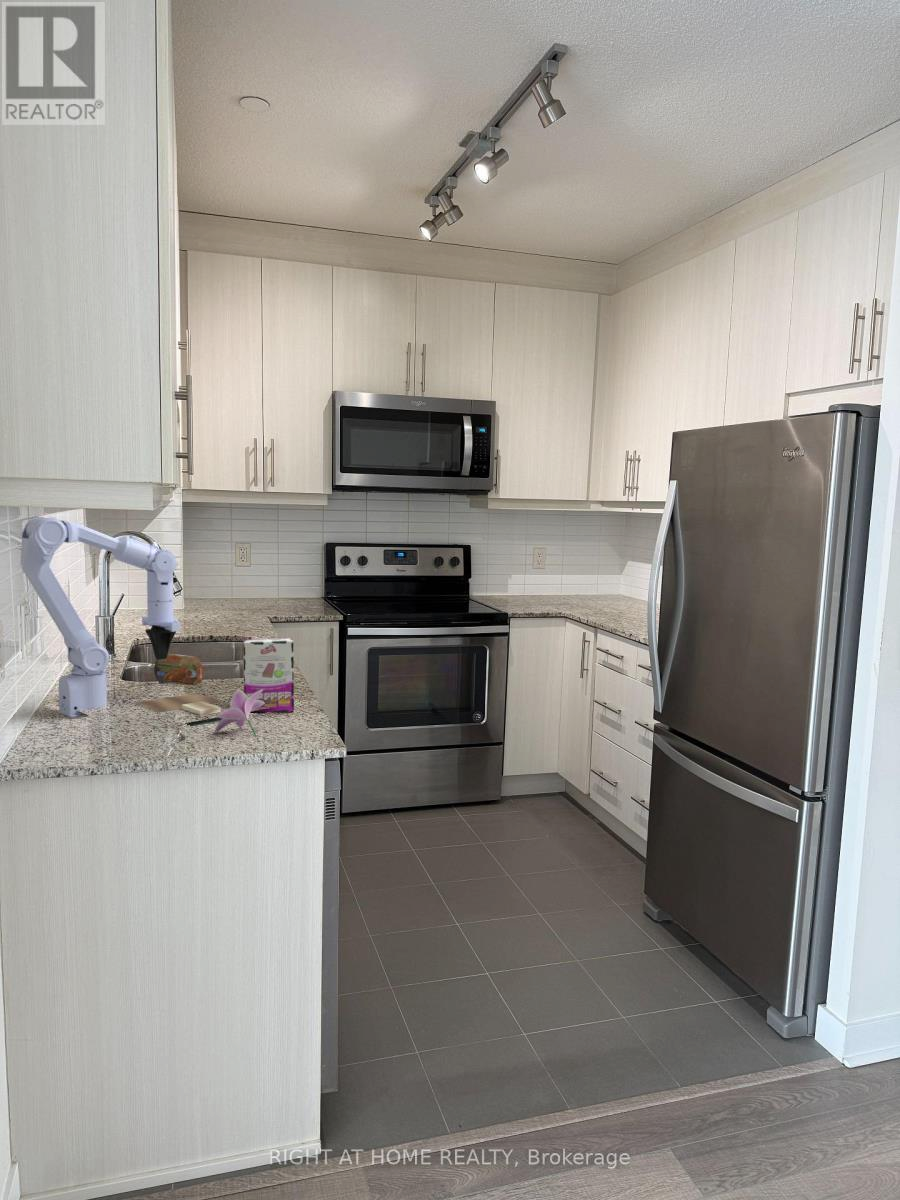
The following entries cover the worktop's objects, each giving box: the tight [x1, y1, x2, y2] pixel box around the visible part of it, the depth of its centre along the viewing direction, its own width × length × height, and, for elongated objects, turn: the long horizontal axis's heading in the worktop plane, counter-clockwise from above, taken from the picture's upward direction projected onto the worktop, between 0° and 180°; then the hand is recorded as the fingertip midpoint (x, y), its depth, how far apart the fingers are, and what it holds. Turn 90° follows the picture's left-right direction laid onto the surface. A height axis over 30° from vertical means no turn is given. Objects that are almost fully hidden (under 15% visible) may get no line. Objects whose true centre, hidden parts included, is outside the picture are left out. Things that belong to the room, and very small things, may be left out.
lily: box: [213, 688, 265, 736], centre depth 170 cm, size 12×12×10 cm
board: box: [133, 692, 225, 713], centre depth 190 cm, size 16×12×2 cm
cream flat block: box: [181, 702, 222, 716], centre depth 183 cm, size 5×8×2 cm, turn 46°
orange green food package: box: [153, 653, 204, 686], centre depth 213 cm, size 15×3×8 cm, turn 62°
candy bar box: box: [242, 637, 295, 714], centre depth 189 cm, size 11×5×16 cm, turn 105°
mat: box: [184, 717, 223, 727], centre depth 182 cm, size 12×11×1 cm
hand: (161, 658), depth 194 cm, fingers closed
